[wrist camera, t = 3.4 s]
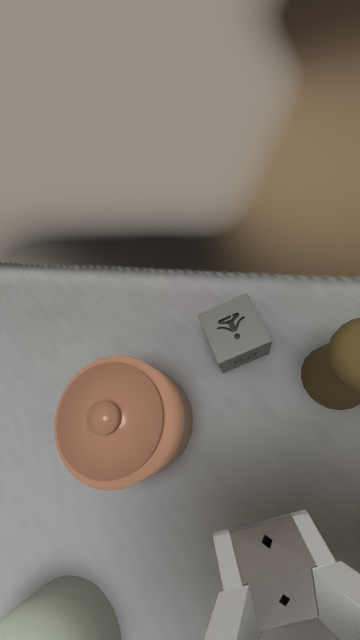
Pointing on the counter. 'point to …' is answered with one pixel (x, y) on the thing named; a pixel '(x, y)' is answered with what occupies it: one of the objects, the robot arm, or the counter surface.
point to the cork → (335, 369)
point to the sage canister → (63, 614)
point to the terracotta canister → (121, 423)
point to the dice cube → (235, 333)
